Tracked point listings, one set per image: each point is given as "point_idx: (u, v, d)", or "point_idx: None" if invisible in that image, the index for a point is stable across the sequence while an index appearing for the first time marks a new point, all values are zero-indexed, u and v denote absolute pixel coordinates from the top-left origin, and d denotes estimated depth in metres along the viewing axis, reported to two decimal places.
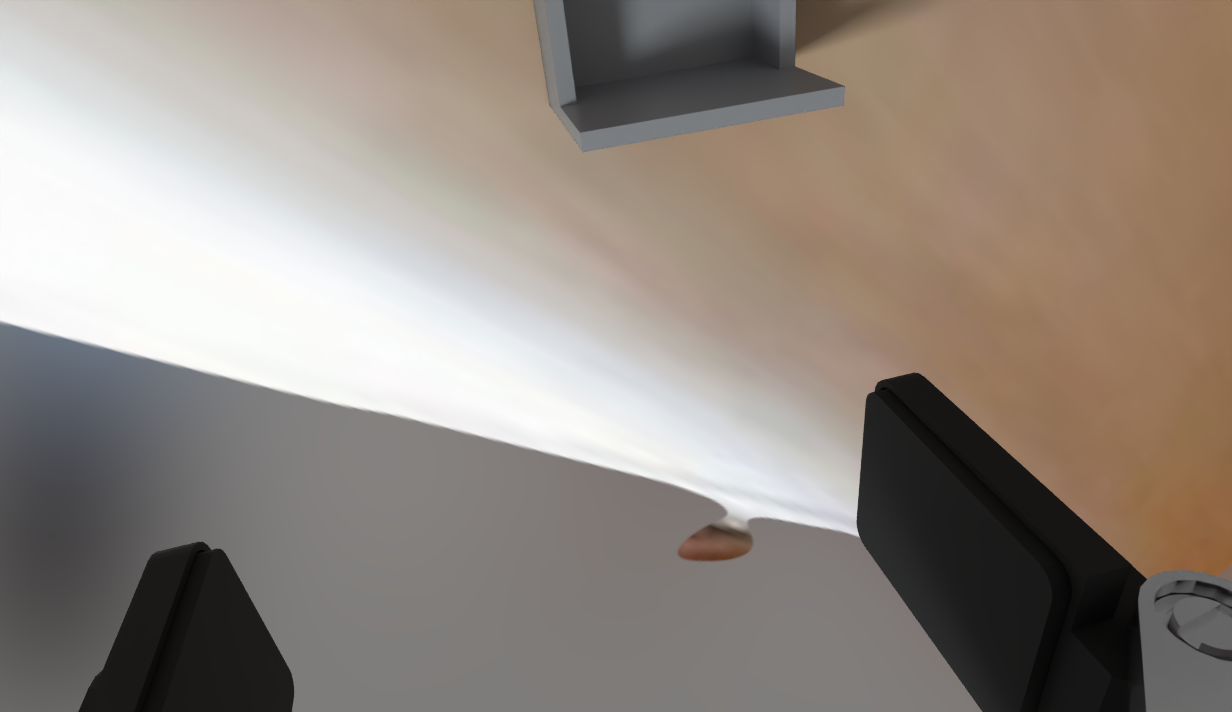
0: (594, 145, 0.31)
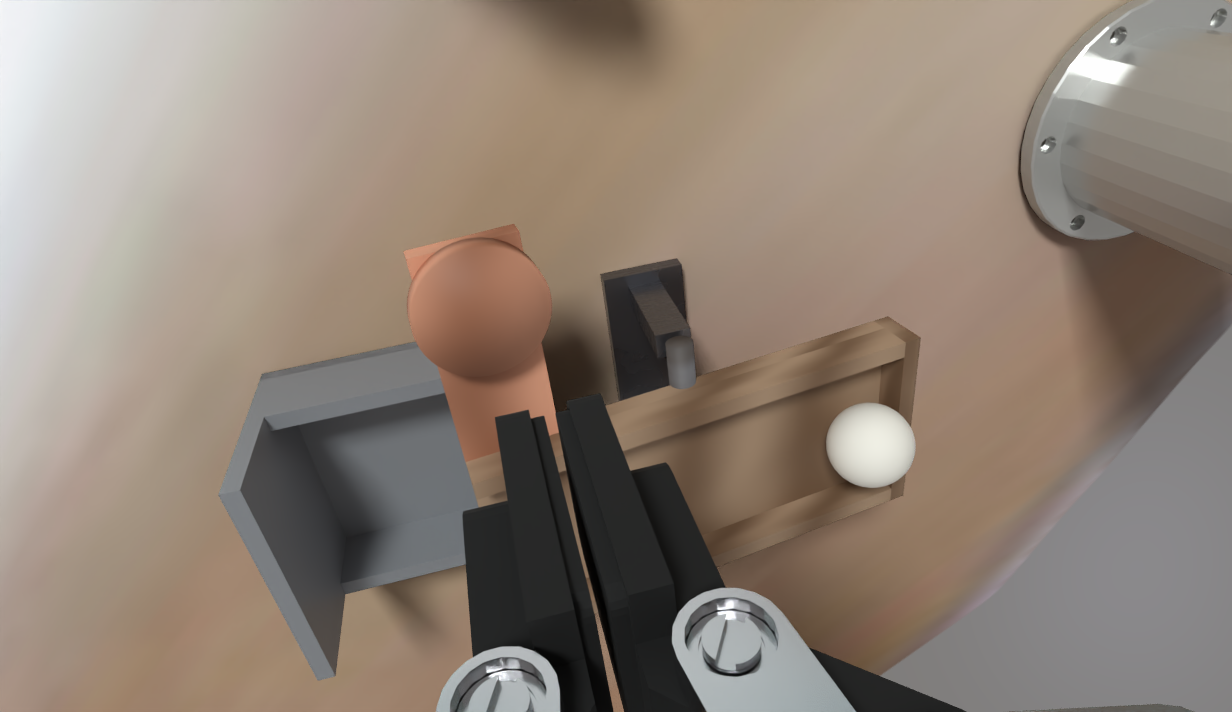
0: (228, 504, 0.29)
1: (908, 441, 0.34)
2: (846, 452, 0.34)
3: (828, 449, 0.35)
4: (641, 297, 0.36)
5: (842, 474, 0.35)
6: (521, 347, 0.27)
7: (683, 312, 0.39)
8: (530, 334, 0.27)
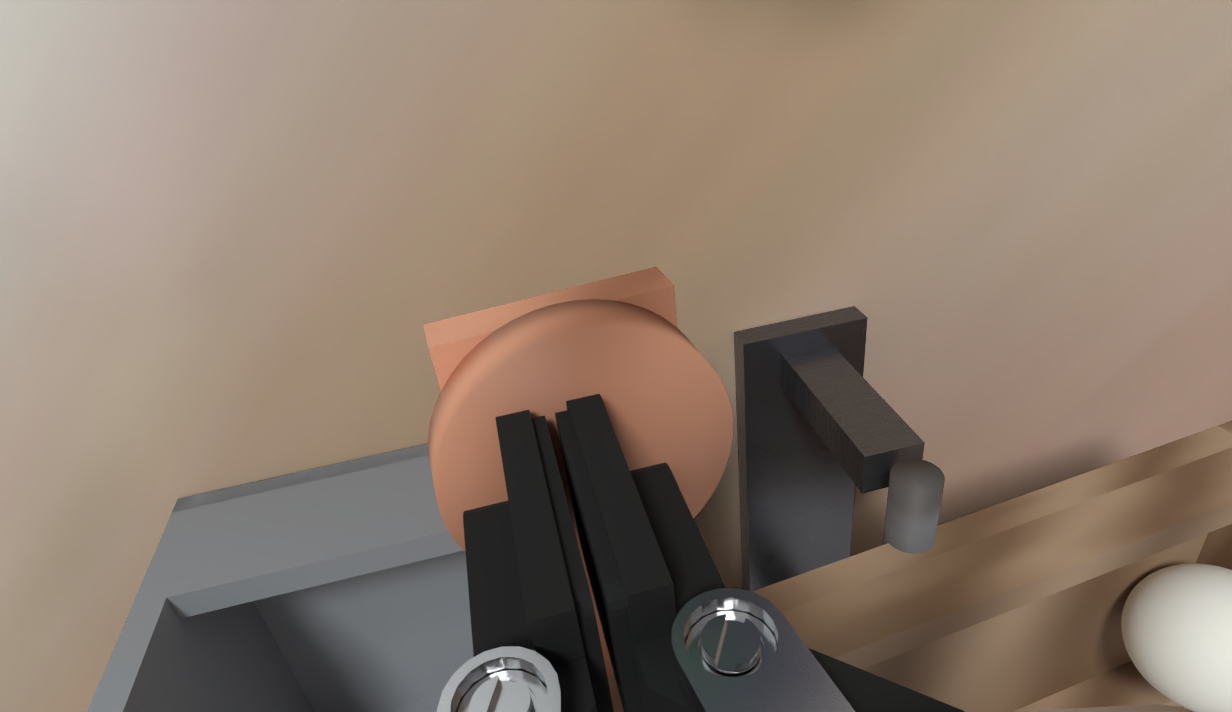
0: None
1: None
2: (1186, 662, 0.19)
3: (1136, 643, 0.21)
4: (810, 375, 0.22)
5: (1164, 690, 0.20)
6: None
7: None
8: None
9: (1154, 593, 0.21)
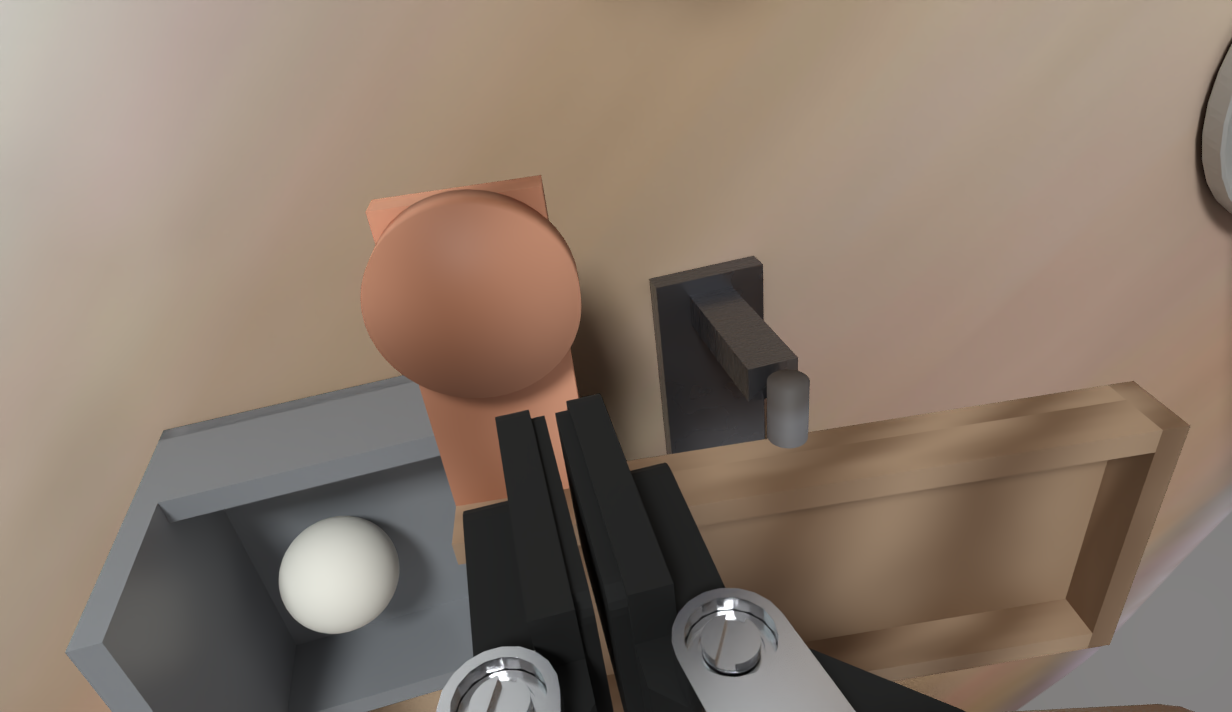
0: (84, 665, 0.18)
1: (317, 595, 0.24)
2: None
3: None
4: (712, 311, 0.25)
5: None
6: (531, 363, 0.18)
7: None
8: (546, 346, 0.18)
9: None
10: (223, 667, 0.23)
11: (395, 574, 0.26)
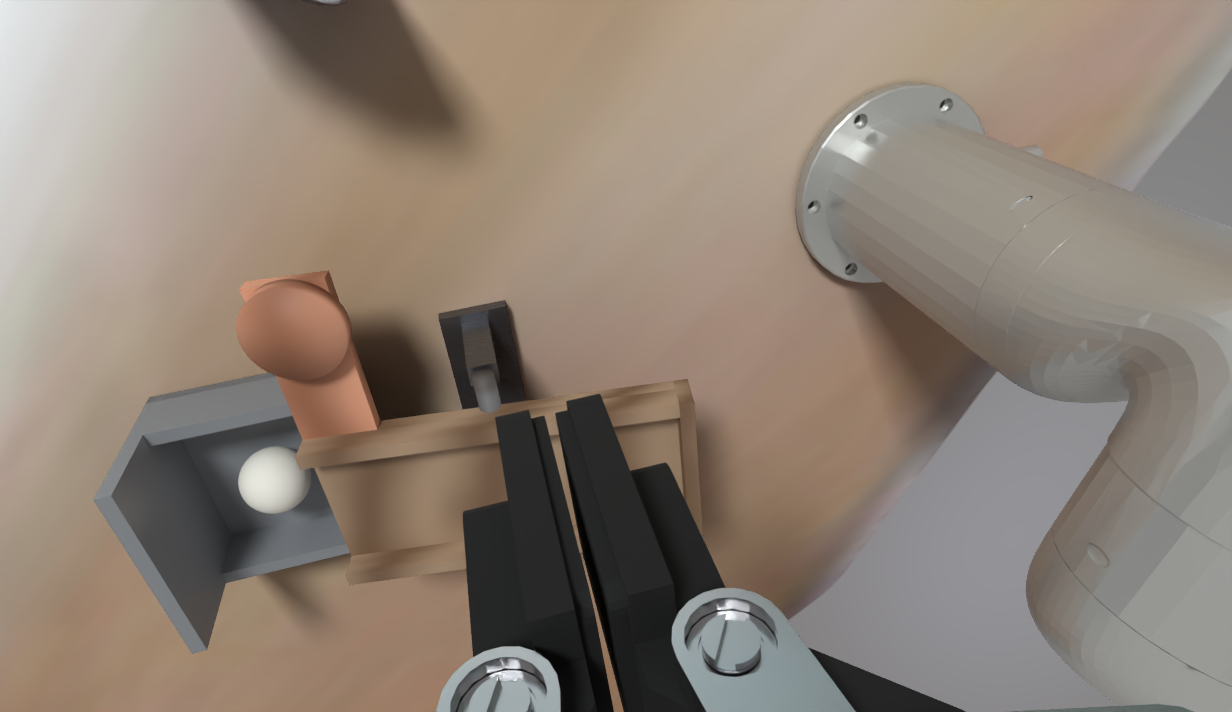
0: (102, 507, 0.36)
1: (279, 481, 0.43)
2: (238, 483, 0.44)
3: None
4: (467, 334, 0.43)
5: None
6: (325, 363, 0.36)
7: (512, 345, 0.46)
8: (331, 354, 0.36)
9: None
10: (178, 530, 0.42)
11: None
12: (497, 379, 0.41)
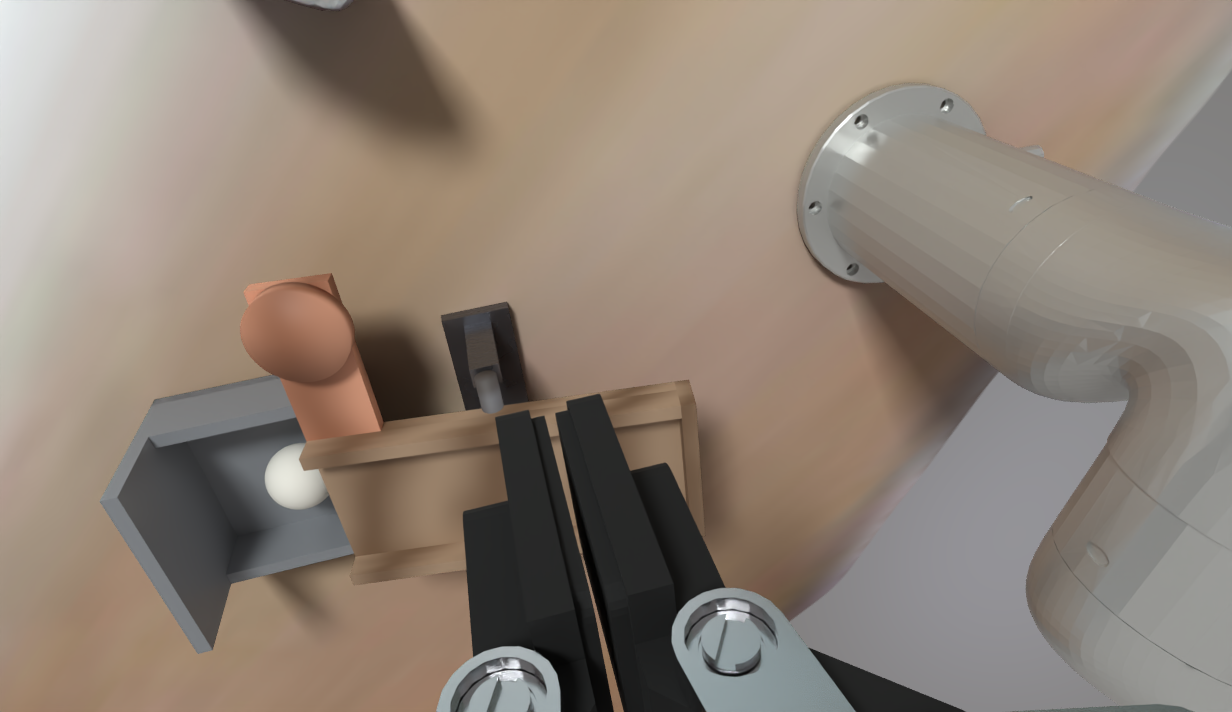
0: (108, 508, 0.36)
1: None
2: (273, 487, 0.44)
3: (266, 488, 0.45)
4: (470, 335, 0.44)
5: (280, 504, 0.44)
6: (329, 365, 0.37)
7: (514, 346, 0.46)
8: (335, 356, 0.36)
9: (268, 463, 0.45)
10: (184, 531, 0.42)
11: None
12: (499, 380, 0.41)
